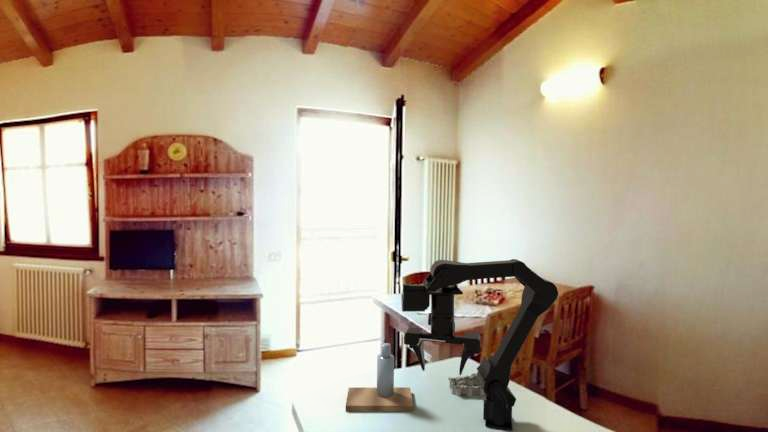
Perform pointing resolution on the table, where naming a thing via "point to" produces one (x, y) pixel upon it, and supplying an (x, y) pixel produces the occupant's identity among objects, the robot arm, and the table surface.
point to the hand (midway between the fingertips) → (441, 372)
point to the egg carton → (462, 383)
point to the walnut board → (379, 400)
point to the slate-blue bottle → (385, 371)
